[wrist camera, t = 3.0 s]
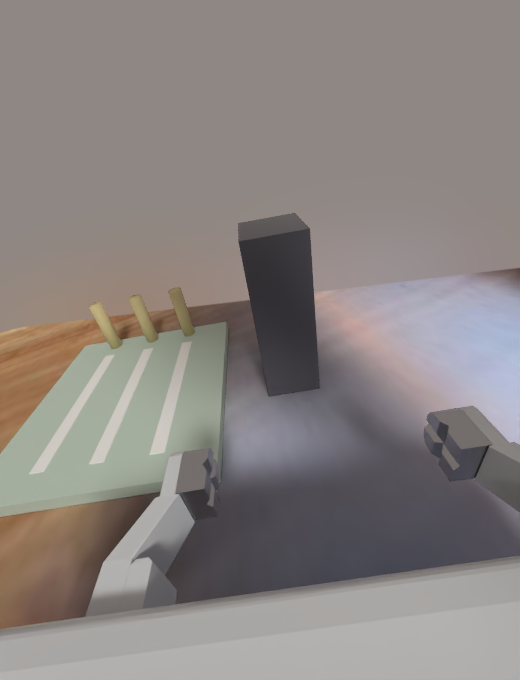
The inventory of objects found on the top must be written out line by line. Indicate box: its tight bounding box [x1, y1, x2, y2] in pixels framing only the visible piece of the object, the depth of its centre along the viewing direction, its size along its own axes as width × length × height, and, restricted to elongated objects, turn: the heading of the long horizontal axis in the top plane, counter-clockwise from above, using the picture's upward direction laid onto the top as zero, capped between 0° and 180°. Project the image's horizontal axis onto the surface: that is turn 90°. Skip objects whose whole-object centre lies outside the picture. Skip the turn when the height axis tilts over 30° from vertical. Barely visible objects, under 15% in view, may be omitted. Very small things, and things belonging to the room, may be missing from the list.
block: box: [238, 213, 320, 396], centre depth 22 cm, size 4×5×12 cm
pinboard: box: [0, 288, 228, 517], centre depth 23 cm, size 16×18×6 cm
